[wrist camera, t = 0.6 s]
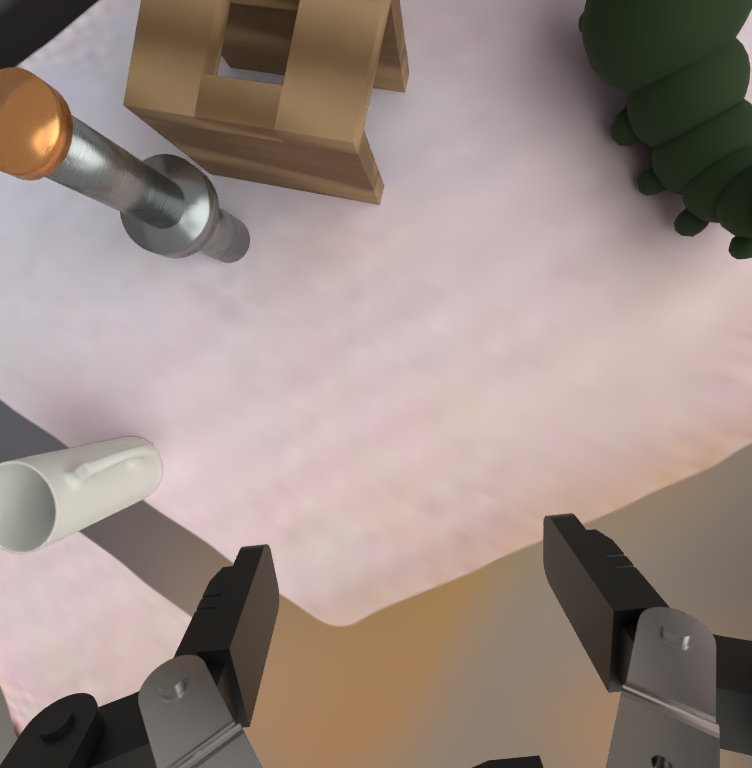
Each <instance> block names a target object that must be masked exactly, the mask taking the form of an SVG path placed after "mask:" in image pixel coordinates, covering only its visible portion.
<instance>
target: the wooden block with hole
mask: <svg viewBox="0 0 752 768" xmlns="http://www.w3.org/2000/svg"><path fill="white" fill-rule="evenodd" d="M221 55H222V56H223V58H224V59H225V60H226V62H227V63H228V64H229V66H230V67H232V68H239V69H246V70H253V71H260V72H267V73H274V74H281V75H285V77H284V82H283V85H276V84H269V83H262V82H255V81H248V80H241V79H235V78H228V77H221V76H217V74H218V68H219V63H220V57H221ZM408 76H409V67H408V60H407V52H406V45H405V37H404V30H403V22H402V15H401V7H400V0H141V4H140V10H139V16H138V22H137V28H136V34H135V40H134V45H133V51H132V57H131V63H130V69H129V75H128V81H127V87H126V93H125V99H124V106H125V107H126V108H128V109H129V110H130V111H131V112H133V113H134V114H135V115H136V116H138V117H139V118H140V119H142V120H143V121H144V122H145V123H147V124H148V125H149V126H150V127H152V128H153V129H154V130H156V131H157V132H158V133H159V134H161V135H162V136H163V137H164V138H166V139H167V140H168V141H169V142H171V143H172V144H173V145H175V146H176V147H177V148H178V149H180V150H181V151H182V152H183V153H185V154H186V155H187V156H188V157H190V158H191V159H192V160H194V161H195V162H196V163H197V164H199V165H200V166H201V167H202V168H204V169H205V170H206V171H207V172H209V173H210V174H214V175H219V176H225V177H230V178H236V179H241V180H247V181H252V182H258V183H263V184H269V185H274V186H280V187H285V188H291V189H296V190H302V191H307V192H313V193H318V194H324V195H329V196H335V197H340V198H346V199H351V200H357V201H362V202H368V203H374V204H379V205H380V202H381V197H382V193H383V188H384V184H383V182H382V179H381V176H380V173H379V171H378V168H377V165H376V162H375V160H374V157H373V154H372V151H371V149H370V146H369V143H368V140H367V138H366V135H365V132H364V124H365V120H366V115H367V110H368V106H369V101H370V96H371V92H372V87H373V88H380V89H387V90H394V91H401V92H405V89H406V85H407V80H408Z"/></svg>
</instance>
